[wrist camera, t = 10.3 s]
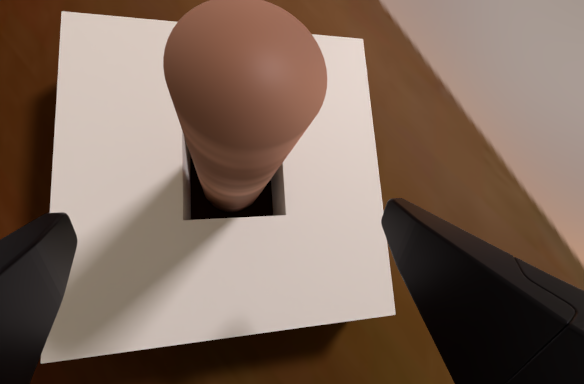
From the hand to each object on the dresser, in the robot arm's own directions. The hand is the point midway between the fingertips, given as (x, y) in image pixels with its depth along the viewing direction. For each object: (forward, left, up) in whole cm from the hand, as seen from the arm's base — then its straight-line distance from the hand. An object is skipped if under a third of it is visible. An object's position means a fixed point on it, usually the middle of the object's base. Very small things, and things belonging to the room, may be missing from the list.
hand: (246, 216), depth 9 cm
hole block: (+3, 0, -10) cm, 11 cm away
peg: (+3, 0, -10) cm, 11 cm away
